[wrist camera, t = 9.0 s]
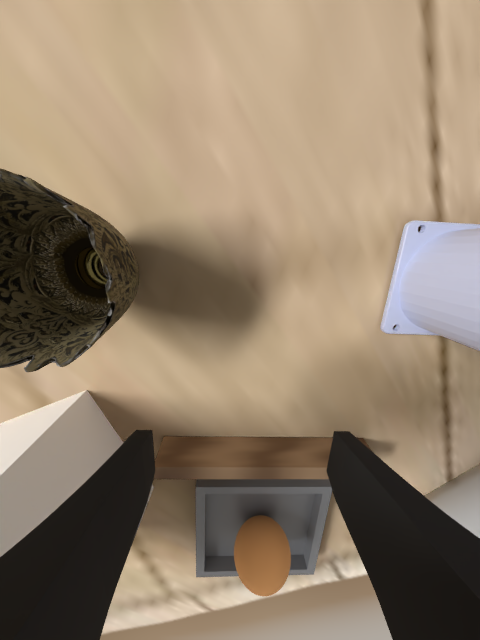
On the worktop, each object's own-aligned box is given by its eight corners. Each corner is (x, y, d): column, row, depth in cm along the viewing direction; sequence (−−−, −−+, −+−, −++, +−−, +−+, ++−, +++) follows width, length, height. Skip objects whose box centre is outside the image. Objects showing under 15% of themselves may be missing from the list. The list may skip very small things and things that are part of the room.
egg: (272, 495, 22) (285, 563, 17) (290, 527, 23) (306, 599, 19) (224, 512, 22) (224, 584, 17) (245, 543, 24) (249, 617, 19)
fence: (362, 438, 21) (383, 467, 18) (360, 448, 21) (380, 479, 19) (163, 436, 20) (152, 467, 17) (164, 447, 20) (153, 479, 18)
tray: (324, 468, 22) (332, 486, 20) (308, 552, 25) (313, 574, 24) (198, 468, 21) (195, 487, 20) (198, 554, 25) (196, 577, 23)
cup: (70, 185, 14) (-112, 111, 7) (180, 239, 16) (132, 229, 8) (43, 292, 16) (-125, 329, 9) (144, 333, 17) (76, 398, 10)
